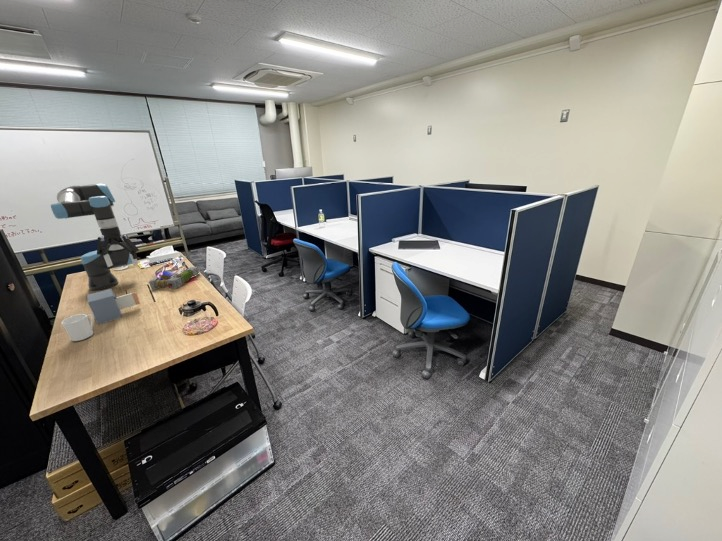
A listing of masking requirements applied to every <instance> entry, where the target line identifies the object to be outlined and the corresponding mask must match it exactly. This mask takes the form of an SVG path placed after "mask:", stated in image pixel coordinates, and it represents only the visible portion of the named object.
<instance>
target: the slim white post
mask: <svg viewBox="0 0 722 541" xmlns="http://www.w3.org/2000/svg"><path fill="white" fill-rule="evenodd" d="M115 300H116V303H117V305H118V308H119V310H120V311H121V310H122V309H127V308H129V307H133V306H136V305H141V302H140V300H139V296H138V293H137V292H136V291H134V292H131V293H127V294H123V295H120V296H117V297H116V299H115Z"/></svg>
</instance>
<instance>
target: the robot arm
mask: <svg viewBox="0 0 722 541" xmlns="http://www.w3.org/2000/svg"><path fill="white" fill-rule="evenodd" d="M56 200H57V202H56V203H52V204H50V209H51V212H52V214H53V215H54V218H56V219H58V220H60V219H70V218H78V217H86V216H94V217H95V220H96V222H97V225H98V228H100V229H99V230H100V233H101V236H98V237H97V240H98V241H97V247H96V248H97V249H96V250H93V251H89V252H87V253H85V254H83V255H82V256H80V261H81V265H82V266H83V268H84V271H85V273H86V276H87V277H88V285H87V286H88V288H89V290H90V291H99V290H101V291H103V290H107V289H110V288H111V287H114V286H116V285H117V284H119V280H118V278H117V277H116V276H115V274H113V273H112V271H111V269H116V268H121V267H124V266H129V265H133V266H137V265H138V264H139V262H138V256H137V252H139V251H140V249H139V248H138V247H137V246H136V245H135V244H134V243H133V241H132V240H131V239H130V238H129V236H128V235H127V234H124V235H122V233H121V231H120V228H119V224H118V222H117V219H116V217H115V212H114V211H113V207H114V203H115V202H116V200H115V198H114V195H113V193H112V192H111V189H110V188H109V187H108V185H107V184H104V183H93V184H92V183H91V184H80V185H72V186H68V187H65V188H63V189H61V190H60V191H59V192H58V193H57V194H56Z"/></svg>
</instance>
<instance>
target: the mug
mask: <svg viewBox="0 0 722 541" xmlns="http://www.w3.org/2000/svg"><path fill="white" fill-rule="evenodd" d="M88 317H90V321H89V319H88ZM60 323H61V325H62V326H63V328H64V329H65V331H66V333H67V335H68V337H69V338H70V340H71V342H74V343H79V342H82V341H85V340H88V339H90V338H92V337H93V336H94V331H93V328H94V315H93V314H91V313H90V314H86V313H79V314H74V315H71V316H68V317H66V318H65V319H63V320H61V321H60Z"/></svg>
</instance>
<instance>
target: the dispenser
mask: <svg viewBox="0 0 722 541" xmlns="http://www.w3.org/2000/svg"><path fill="white" fill-rule="evenodd" d="M115 299H116V294H115V292H114V291H113V289H112V288H107V289H103V290H101V291H96V292H93V293H88V294H87V303H88V306H89V307H90V310H91V312H92V315H93V318H94V319H95V322H96V324H97V325H101V324H104V323H107V322H111V321H114V320H117V319H121V318H122V313H121V309H120V310H119V308H118V305H117V303H116V300H115Z"/></svg>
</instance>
